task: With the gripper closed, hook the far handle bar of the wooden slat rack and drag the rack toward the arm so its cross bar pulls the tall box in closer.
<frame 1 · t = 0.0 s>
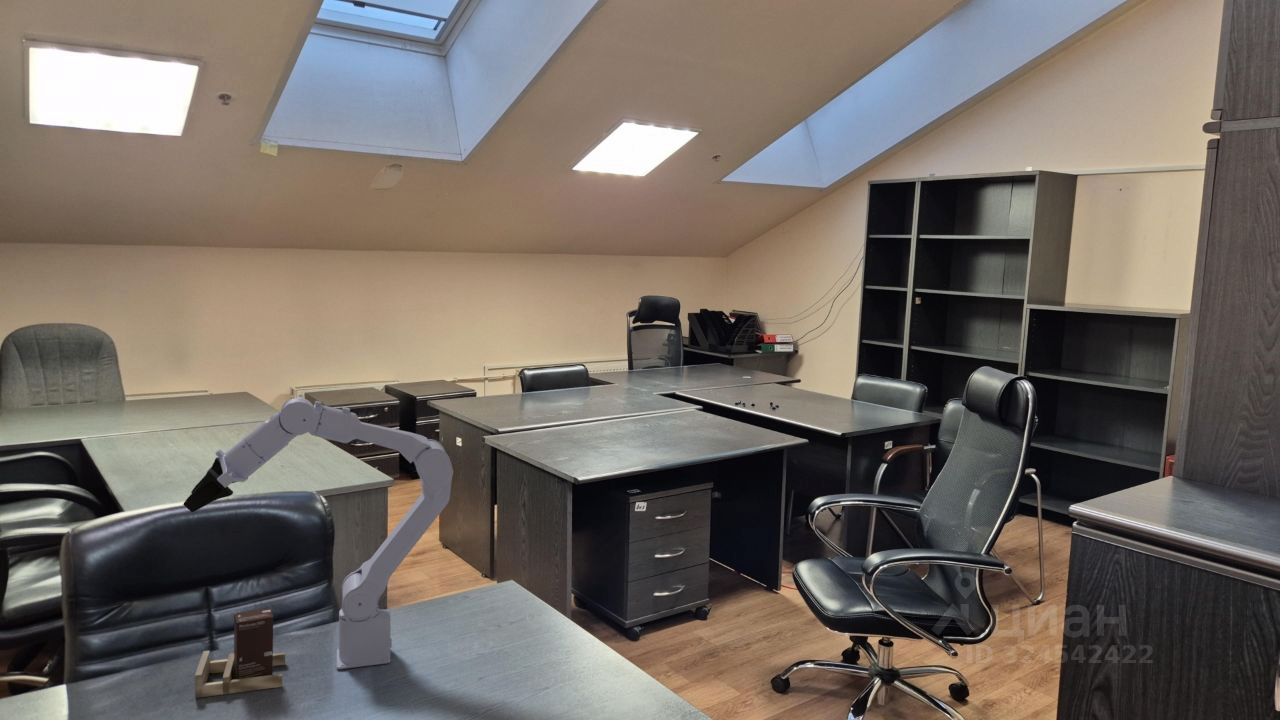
hand: (191, 501, 140), 32 cm above the table, tool tilted 50°, fingers open, 7 cm apart
wooden slat rack: (242, 668, 143), point 2 cm above the table, slide at 0.0 cm
box: (253, 679, 144), resting in wooden slat rack
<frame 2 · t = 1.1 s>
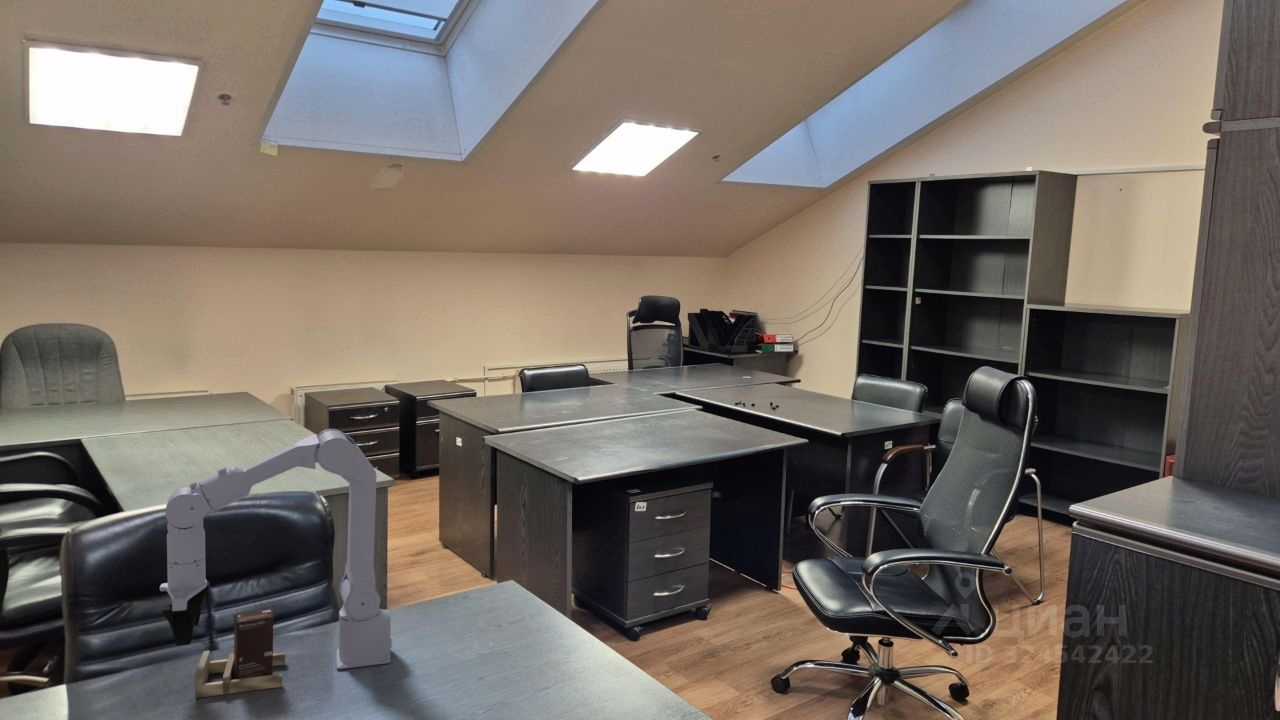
hand: (187, 634, 140), 10 cm above the table, tool pointing down, fingers open, 7 cm apart
nothing on the table moved.
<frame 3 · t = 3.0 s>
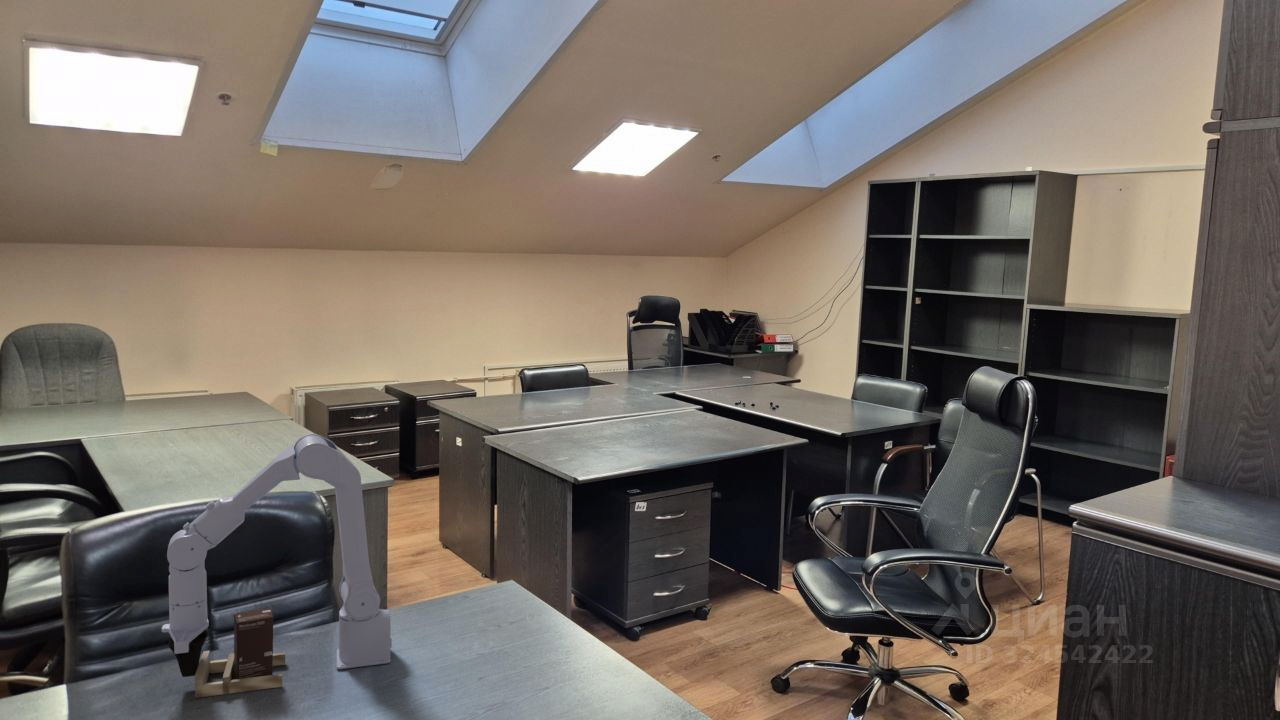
hand: (189, 674, 140), 2 cm above the table, tool pointing down, fingers closed, pressing on wooden slat rack
wooden slat rack: (242, 668, 143), point 2 cm above the table, slide at 0.0 cm, touching gripper
everything else where it was.
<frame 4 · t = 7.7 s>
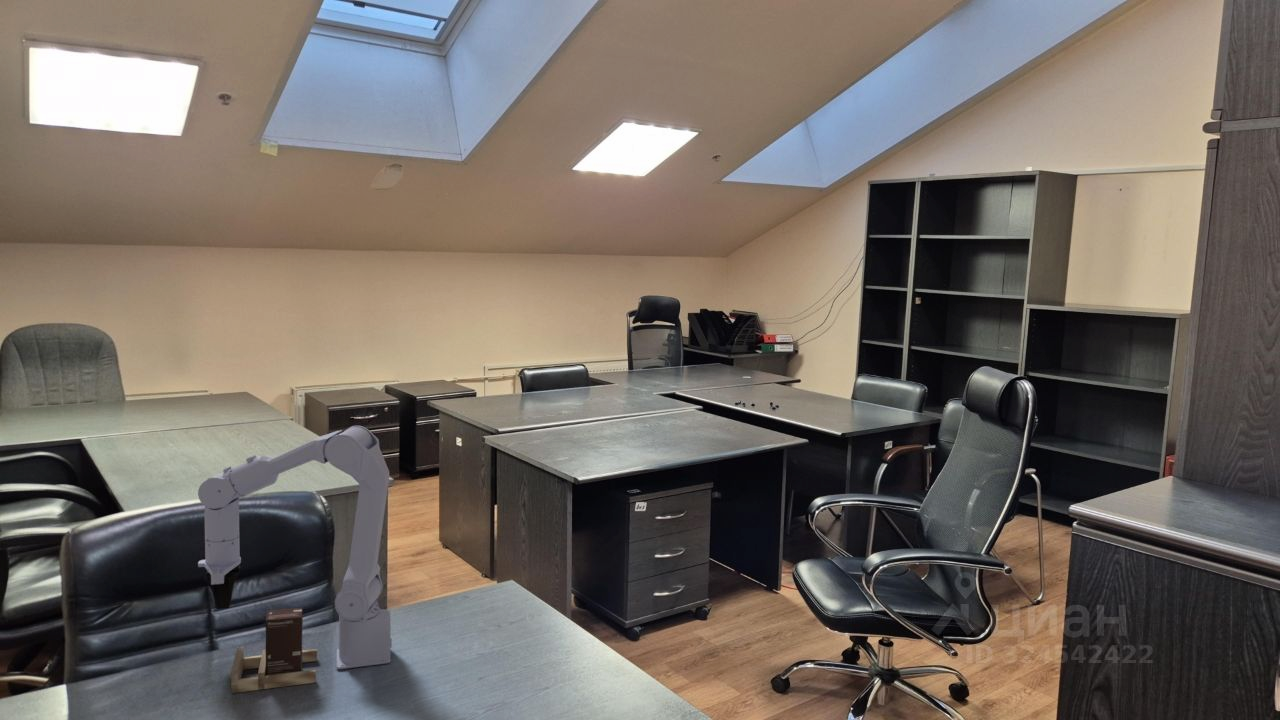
hand: (223, 607, 151), 9 cm above the table, tool pointing down, fingers closed
wooden slat rack: (276, 664, 145), point 2 cm above the table, slide at 5.5 cm
box: (284, 677, 145), resting in wooden slat rack
at the end: wooden slat rack slide at 5.5 cm; box inside the target area (0.8 cm from its centre), resting in wooden slat rack; box tilted 0° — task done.
